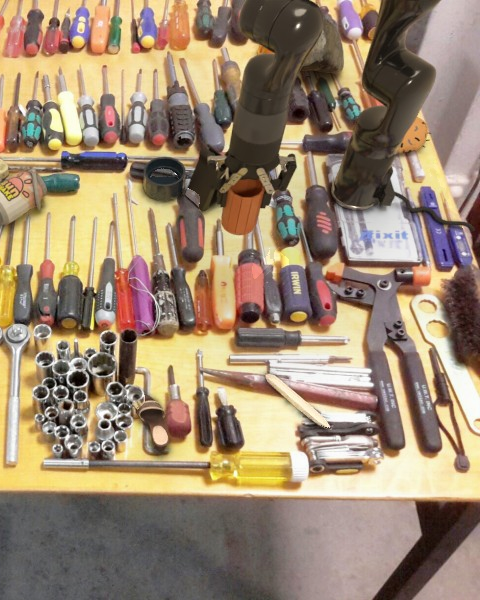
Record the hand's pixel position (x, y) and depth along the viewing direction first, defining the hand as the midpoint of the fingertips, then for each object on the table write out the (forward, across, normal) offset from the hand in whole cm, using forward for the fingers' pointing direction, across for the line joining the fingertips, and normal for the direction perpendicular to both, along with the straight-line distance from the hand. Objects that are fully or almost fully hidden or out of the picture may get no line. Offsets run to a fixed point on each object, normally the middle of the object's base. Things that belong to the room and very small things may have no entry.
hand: (242, 204), depth 107 cm
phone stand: (+22, -3, +24) cm, 32 cm away
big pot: (+22, -13, +25) cm, 36 cm away
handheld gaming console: (+20, -51, +25) cm, 60 cm away
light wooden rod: (+22, +11, -26) cm, 36 cm away
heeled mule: (+22, -13, -32) cm, 41 cm away
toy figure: (+18, +15, +64) cm, 68 cm away
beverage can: (+18, -48, +13) cm, 53 cm away
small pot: (+5, 0, 0) cm, 5 cm away
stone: (+12, +19, +63) cm, 67 cm away
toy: (+21, +40, +42) cm, 62 cm away
